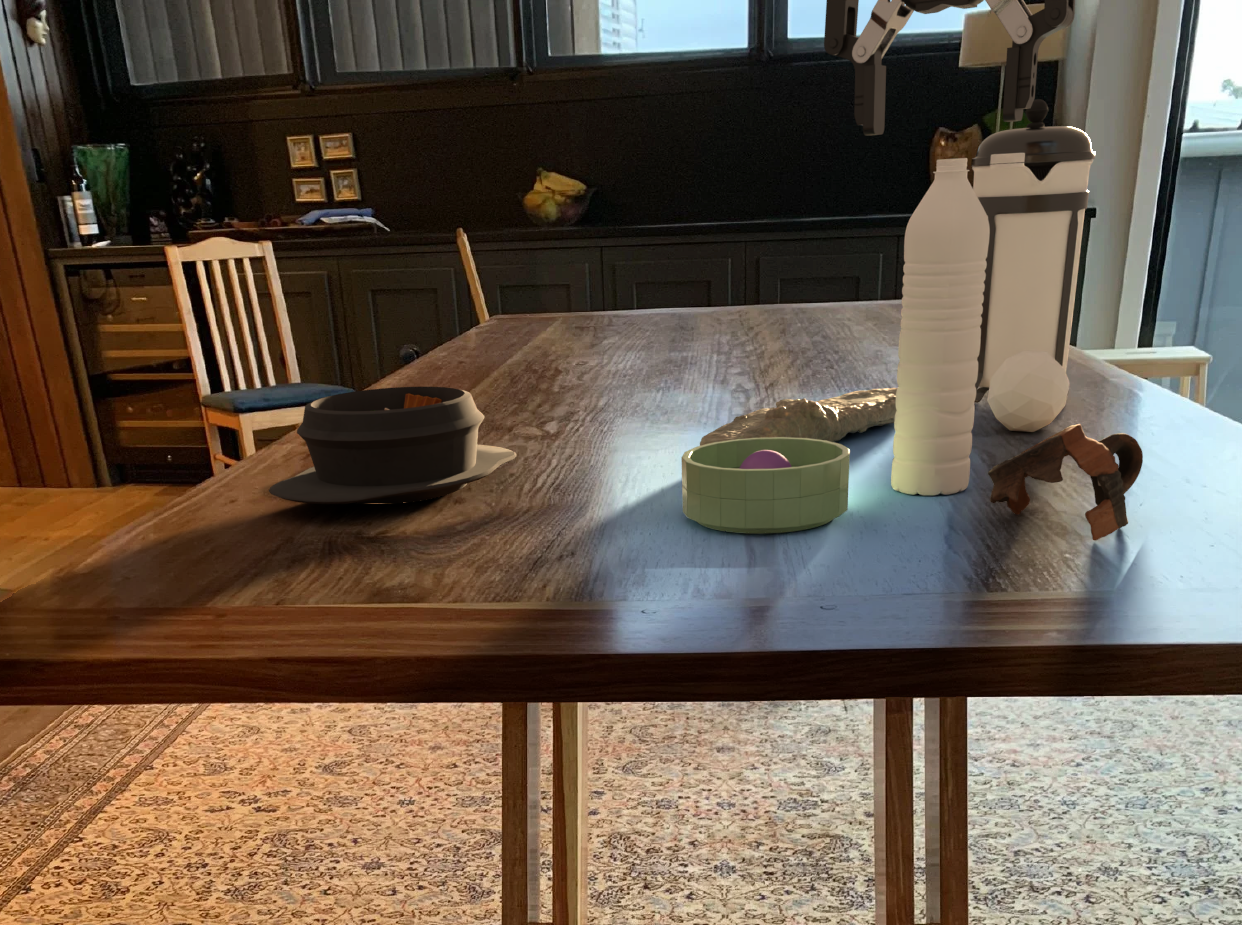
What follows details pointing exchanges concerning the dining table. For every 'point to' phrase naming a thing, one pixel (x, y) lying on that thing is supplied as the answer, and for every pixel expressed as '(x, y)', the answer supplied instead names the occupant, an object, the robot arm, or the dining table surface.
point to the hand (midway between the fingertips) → (940, 128)
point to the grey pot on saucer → (391, 447)
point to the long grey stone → (813, 418)
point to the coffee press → (1031, 240)
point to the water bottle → (941, 332)
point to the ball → (765, 460)
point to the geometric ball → (1028, 391)
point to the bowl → (765, 485)
